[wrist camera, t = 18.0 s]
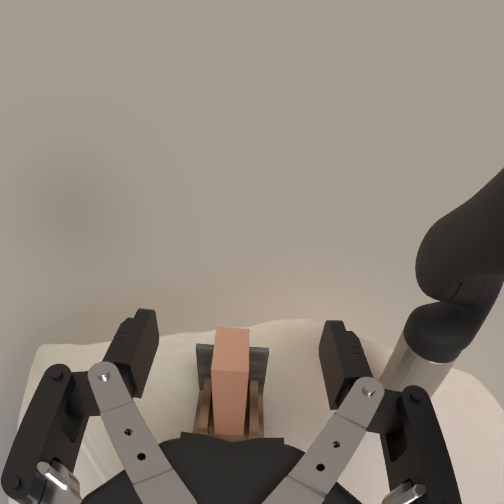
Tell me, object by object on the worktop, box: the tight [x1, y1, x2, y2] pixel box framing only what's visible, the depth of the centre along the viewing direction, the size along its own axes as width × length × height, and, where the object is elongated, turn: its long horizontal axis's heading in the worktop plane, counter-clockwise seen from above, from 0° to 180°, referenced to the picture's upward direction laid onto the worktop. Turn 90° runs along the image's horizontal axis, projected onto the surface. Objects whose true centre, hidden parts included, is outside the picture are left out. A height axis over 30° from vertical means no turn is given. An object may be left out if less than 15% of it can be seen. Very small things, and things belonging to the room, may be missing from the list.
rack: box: [193, 344, 269, 442], centre depth 38 cm, size 12×10×12 cm
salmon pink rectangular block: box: [211, 327, 249, 436], centre depth 37 cm, size 7×4×15 cm, turn 0°
